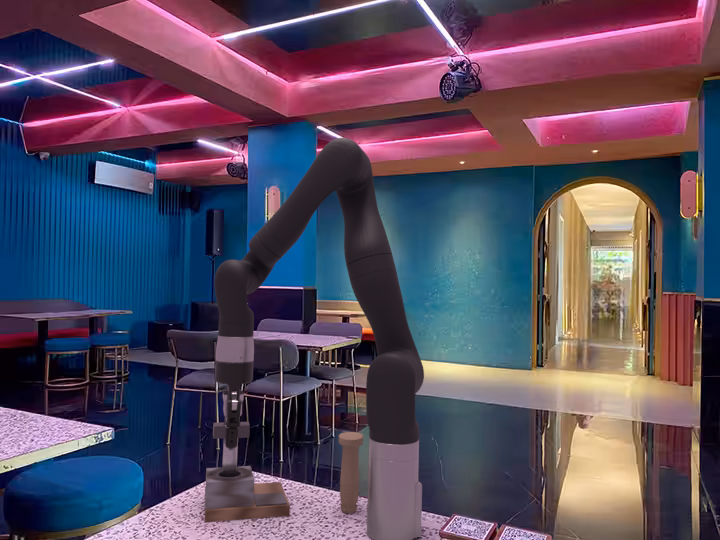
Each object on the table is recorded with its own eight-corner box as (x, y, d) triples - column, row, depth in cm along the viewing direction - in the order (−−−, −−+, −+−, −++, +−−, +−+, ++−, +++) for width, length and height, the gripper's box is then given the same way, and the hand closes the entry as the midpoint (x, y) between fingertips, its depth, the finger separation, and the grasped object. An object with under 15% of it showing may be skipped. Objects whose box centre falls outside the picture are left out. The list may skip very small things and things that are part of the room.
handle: (362, 506, 114) (364, 432, 115) (358, 518, 108) (360, 440, 109) (339, 504, 115) (341, 431, 116) (334, 516, 108) (336, 438, 109)
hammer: (246, 478, 113) (248, 421, 114) (247, 483, 110) (249, 425, 110) (210, 479, 111) (213, 422, 112) (210, 485, 108) (213, 426, 109)
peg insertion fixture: (280, 491, 121) (281, 459, 122) (289, 515, 108) (290, 479, 108) (204, 496, 117) (206, 462, 118) (204, 522, 104) (206, 484, 104)
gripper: (256, 362, 106) (252, 453, 105) (250, 355, 120) (247, 435, 119) (216, 362, 104) (212, 455, 103) (215, 354, 118) (211, 436, 117)
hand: (230, 444), depth 111 cm, fingers closed on hammer, 3 cm apart
